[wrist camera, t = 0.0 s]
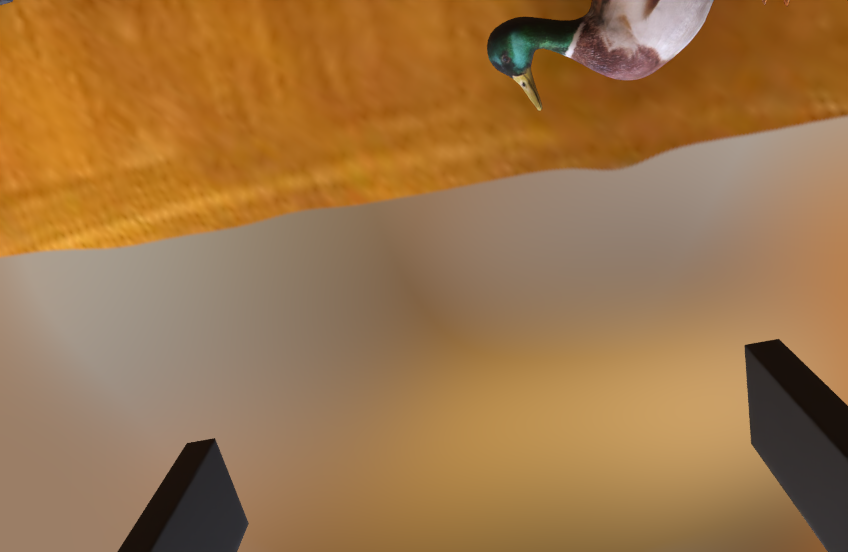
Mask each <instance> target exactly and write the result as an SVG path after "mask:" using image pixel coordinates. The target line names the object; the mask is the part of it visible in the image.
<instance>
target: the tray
mask: <svg viewBox="0 0 848 552" xmlns="http://www.w3.org/2000/svg"><path fill="white" fill-rule="evenodd" d="M10 2H13V0H0V5H2V4H6V3H10Z"/></svg>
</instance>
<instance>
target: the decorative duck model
mask: <svg viewBox="0 0 848 552" xmlns="http://www.w3.org/2000/svg"><path fill="white" fill-rule="evenodd" d="M789 1H790V0H784V4H785V5H786V6H787V7H788V4H789ZM712 2H713V0H592V3H591V7H590V10H589V12H588V13H587V14H586V15H585V16H583V17H581V18H579V19H576V20H571V21H559V20H551V19H542V18H534V17H518V18H514V19H511V20H508V21H506V22H504V23H502V24H501V25H499V26H498V27H496V28H495V29H494V30H493V32H492V33H491V35H490V37H489V39H488V45H487V51H488V56H489V60H490V61H491V63H492V65H493V66H494V67H495V68H496V69H497V70H499V71H500V72H502V73H504V74H506V75H508V76H510V77H511V78H513V79H514V80H515V81H516V82H517V83H518V84H519V85H520V86H521V87H522V88H523V90H524V91H525V93H526V94H527V95H528V97H529V98H530V100H531V101H532V103H533V104H534V105H535V107H536V108H537V109H538V110H541V109H542V103H541V100H540V97H539V94H538V91H537V89H536V86H535V83H534V80H533V76H532V73H531V63H532V58H533V54H534V52H535V50H537V49H542V48H544V49H548V50H552V51H554V52H557V53H560V54H562V55H565V56H567V57H569V58H571V59H573V60H575V61H577V62H579V63H581V64H583V65H584V66H586V67H588V68H590V69H592V70H594V71H596V72H598V73H600V74H602V75H605V76H607V77H611V78H614V79H620V80H636V79H640V78H643V77H646V76H648V75H649V74H651V73H653V72H655V71H656V70H658V69H659V68H660V67H662V66H663V65H664V64H666V63H667V62H668V61H670V60H671V59H672V58H673V57H674V56H675V55H676V54H678V53H679V52H680V51H681V50H682V49H683V48H684V47H685V46H686V45H687V44H688V43H689V42H690V41H691V40H692V39H693V38H694V36H695V35H696V34H697V32H698V31H699V30H700V28H701V27H702V25H703V23H704V22H705V20H706V17H707V15H708V12H709V10H710V7H711V5H712ZM762 2H763V3H764V5H765V4H766V0H762Z"/></svg>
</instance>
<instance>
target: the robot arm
mask: <svg viewBox="0 0 848 552" xmlns="http://www.w3.org/2000/svg"><path fill="white" fill-rule="evenodd" d="M745 358H746V373H747V388H748V403H749V418H750V430H751V444H752V445H753V447H754V448H755V450H756V451H757V452H758V454H759V455H760V457H761V458H762V459H763V461H764V462H765V464H766V465H767V466H768V468H769V469H770V471H771V472H772V474H773V475H774V476H775V478H776V479H777V481H778V482H779V483H780V485H781V486H782V488H783V489H784V490H785V492H786V493H787V495H788V496H789V497H790V499H791V500H792V501H793V503H794V505H795V506H796V507H797V509H798V510H799V512H800V513H801V514H802V516H803V517H804V519H805V520H806V521H807V523H808V524H809V526H810V527H811V528H812V530H813V531H814V533H815V534H816V536H817V537H818V538H819V540H820V541H821V543H822V544H823V545H824V547H825V548H826V550H827V551H828V552H848V406H847V405H846V404H845V403H844V402H843V401H842V400H841V399H840V398H839V397H838V396H837V395H836V394H835V393H834V392H833V391H832V390H831V389H830V388H829V387H828V386H827V385H826V384H824V382H823V381H822V380H821V379H819V378H818V377H817V376H816V375H815V374H814V373H813V372H812V371H811V370H810V369H809V368H808V367H807V366H806V365H805V364H804V363H803V362H802V361H801V360H800V359H799V358H798V357H797V356H796V355H795V354H794V353H793V352H792V351H791V350H789V348H788V347H786V346H785V345H784V344H783V343H782V342H781V341H780V340H779V339H776V340H770V341H765V342H759V343H754V344H748V345H745ZM247 526H248V521H247V518H246V516H245V513H244V511H243V508H242V506H241V503H240V501H239V498H238V496H237V493H236V491H235V488H234V485H233V483H232V480H231V478H230V475H229V473H228V470H227V468H226V465H225V463H224V460H223V458H222V455H221V453H220V450H219V447H218V445H217V443H216V440H215V438H214V439H208V440H203V441H197V442H191V443H187V444H186V446H185V447H184V449H183V450H182V452H181V453H180V455H179V456H178V458H177V460H176V461H175V463H174V464H173V466H172V467H171V469H170V471H169V472H168V474H167V475H166V477H165V479H164V480H163V482H162V483H161V485H160V486H159V488H158V490H157V491H156V493H155V494H154V496H153V497H152V499H151V500H150V502H149V503H148V505H147V507H146V508H145V510H144V511H143V513H142V515H141V516H140V518H139V519H138V521H137V522H136V524H135V526H134V527H133V529H132V530H131V532H130V533H129V535H128V536H127V538H126V540H125V541H124V543H123V544H122V546H121V547H120V549H119V551H118V552H237V550H238V548H239V545H240V543H241V541H242V538H243V536H244V533H245V531H246V528H247Z"/></svg>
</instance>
